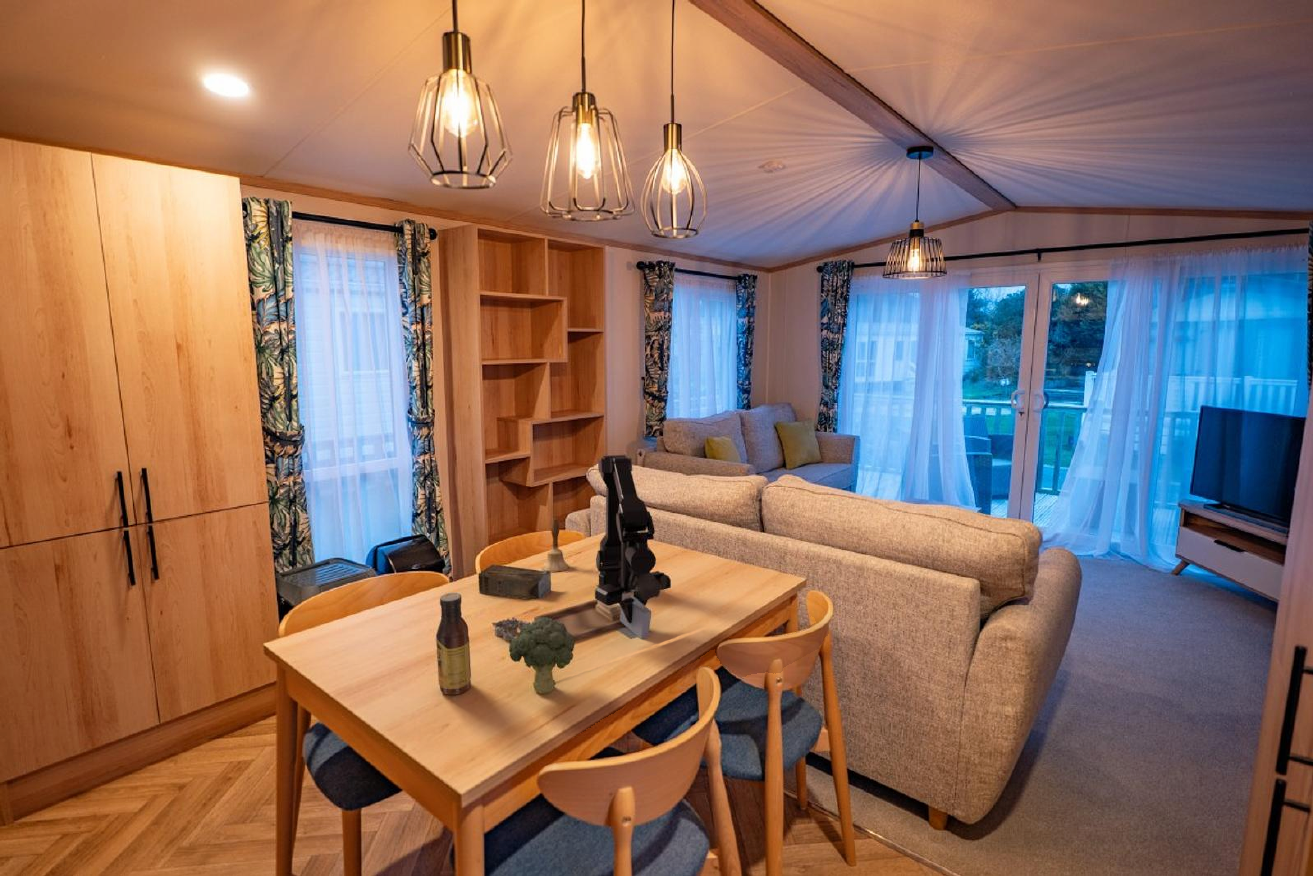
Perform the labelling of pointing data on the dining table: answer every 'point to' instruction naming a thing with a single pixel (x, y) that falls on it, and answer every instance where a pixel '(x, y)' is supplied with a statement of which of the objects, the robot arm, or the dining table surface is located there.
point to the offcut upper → (609, 607)
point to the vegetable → (543, 650)
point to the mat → (627, 632)
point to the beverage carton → (514, 582)
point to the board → (638, 619)
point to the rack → (582, 620)
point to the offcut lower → (610, 616)
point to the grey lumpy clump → (508, 628)
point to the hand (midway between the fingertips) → (634, 621)
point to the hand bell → (555, 552)
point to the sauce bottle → (453, 647)
